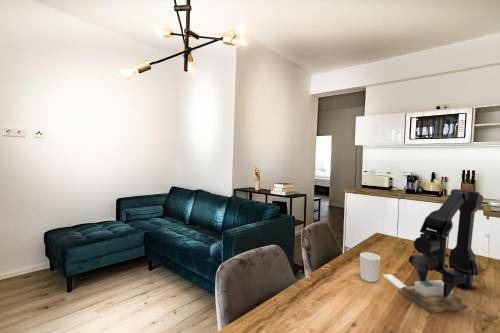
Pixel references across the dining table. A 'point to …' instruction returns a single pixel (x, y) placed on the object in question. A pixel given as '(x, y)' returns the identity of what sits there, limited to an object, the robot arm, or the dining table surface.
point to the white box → (430, 288)
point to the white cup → (369, 266)
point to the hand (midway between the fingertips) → (433, 290)
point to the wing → (394, 281)
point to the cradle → (433, 300)
